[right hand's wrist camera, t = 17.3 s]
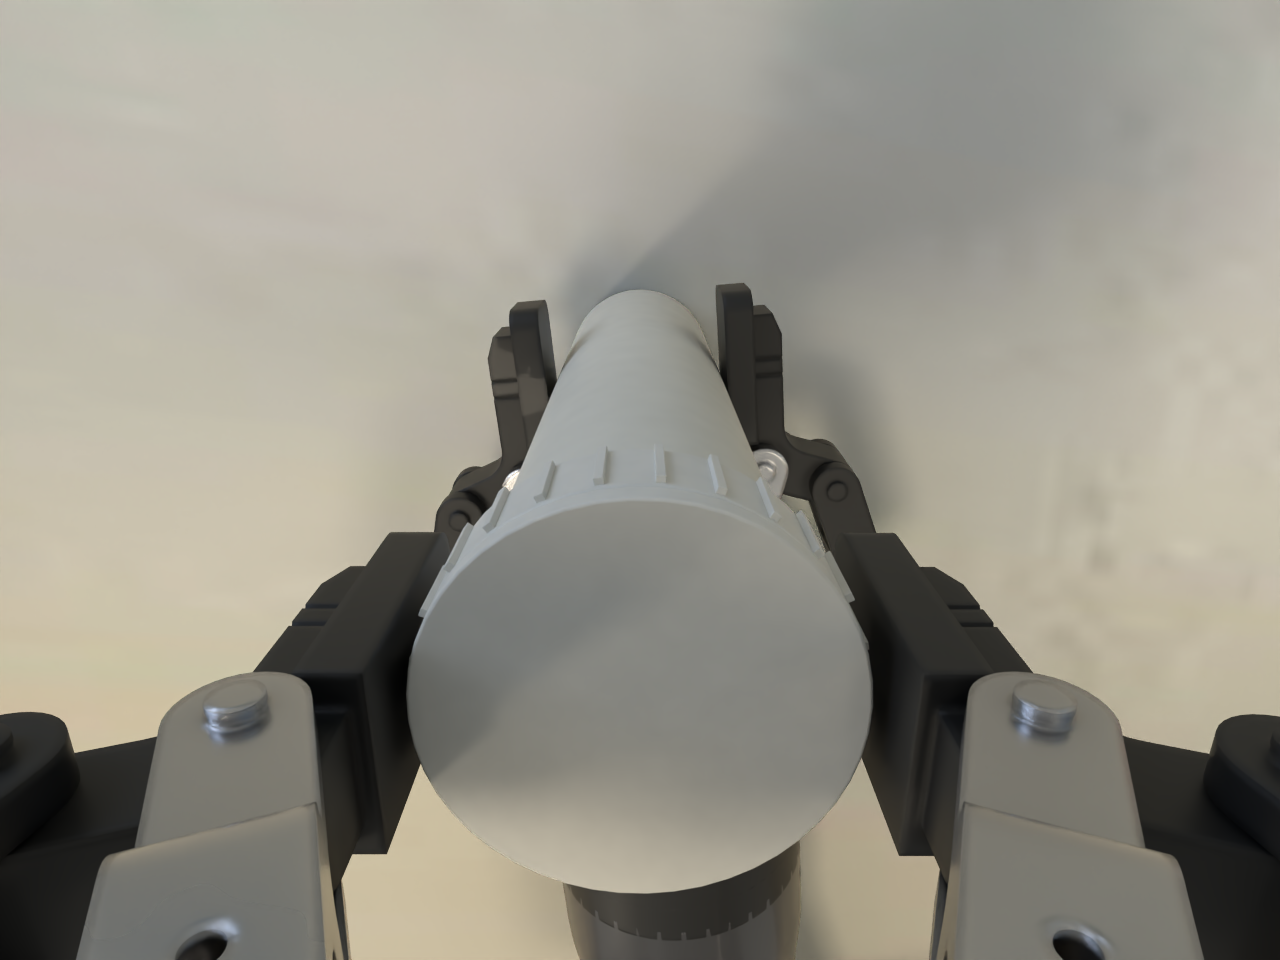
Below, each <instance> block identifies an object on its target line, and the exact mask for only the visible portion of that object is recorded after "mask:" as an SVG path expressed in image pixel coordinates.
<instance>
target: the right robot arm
mask: <svg viewBox="0 0 1280 960" xmlns="http://www.w3.org/2000/svg"><path fill="white" fill-rule="evenodd" d="M449 555H450V547H449V542H448V538H447V536H446V534H445V533H444V532H391V533H389V534H388V535H387V537H386V538H385V539H384V541H383V542H382V544H381V545H380V547H379V548H378V549H377V551H376V552H375V554H374V555H373V557H372V558H371V559H370V561H369V562H368V564H367V565H366V566H350V567H348V568H347V569H345V570H344V571H342V572H340V573H339V574H337V575H335V576H334V577H332V578H330V579H329V580H327V581H325V582H324V583H322V584H321V585H320V587H319V588H318V589H317V590H316V592H315V593H314V594H313V596H312V597H311V598H310V599H309V601H308V602H307V603H306V608H305V609H302V610H301V611H300V612H299V614H298V615H297V616H296V617H295V619H294V620H293V621H292V626H288V628H287V629H286V630H285V631H284V633H283V634H282V635H281V637H280V638H279V639H278V640H277V642H276V643H275V644H274V646H273V647H272V648H271V649H270V651H269V652H268V653H267V655H266V656H265V657H264V658H263V660H262V661H261V662H260V664H259V665H258V666H257V667H256V669H255V670H254V671H253V672H252V673H245V674H239V675H235V676H231V677H227V678H224V679H221V680H218V681H215V682H212V683H210V684H208V685H205V686H203V687H201V688H199V689H197V690H195V691H193V692H191V693H190V694H188V695H187V696H185V697H184V698H182V699H181V700H180V701H178V702H177V703H176V704H175V705H173V706H172V708H171V709H170V710H169V711H168V712H167V713H166V714H165V716H164V717H163V719H162V721H161V723H160V726H159V730H158V735H157V737H153V738H149V739H144V740H140V741H135V742H129V743H124V744H119V745H114V746H109V747H104V748H98V749H93V750H88V751H83V752H78V753H74V750H73V747H72V744H71V740H70V737H69V733H68V730H67V727H66V725H65V723H64V722H63V721H62V720H61V719H60V718H58V717H55V716H53V715H50V714H45V713H38V712H19V713H11V714H4V715H0V960H351V953H350V943H349V934H348V924H347V914H346V904H345V896H344V890H343V884H342V877H343V875H344V872H345V870H346V868H347V865H348V863H349V860H350V858H351V856H352V854H387V852H388V850H389V847H390V844H391V841H392V839H393V836H394V833H395V831H396V828H397V825H398V823H399V820H400V817H401V815H402V812H403V809H404V807H405V804H406V801H407V799H408V796H409V793H410V791H411V788H412V785H413V783H414V780H415V777H416V774H417V772H418V769H419V766H420V764H421V762H420V760H419V757H418V755H417V752H416V750H415V747H414V743H413V739H412V735H411V731H410V726H409V722H408V713H407V700H406V688H407V675H408V666H409V657H410V655H411V653H412V649H413V645H414V641H415V639H416V636H417V634H418V631H419V629H420V627H421V624H422V622H423V619H424V618H423V617H420V616H419V612H420V609H421V607H422V605H423V603H424V601H425V599H426V597H427V595H428V593H429V592H430V590H431V588H432V586H433V584H434V582H435V580H436V578H437V576H438V574H439V572H440V570H441V568H442V566H443V565H445V563H446V561H447V559H448V557H449ZM834 559H835V561H836V563H837V565H838V567H839V569H840V571H841V573H842V575H843V577H844V579H845V581H846V583H847V585H848V587H849V589H850V591H851V592H852V595H853V597H854V599H855V600H854V601H852V602H850V603H849V604H850V606H851V608H852V610H853V612H854V614H855V616H856V618H857V620H858V622H859V624H860V626H861V628H862V630H863V632H864V635H865V637H866V639H867V641H868V644H869V650H868V653H869V659H870V665H871V671H872V677H873V710H872V717H871V723H870V730H869V734H868V738H867V741H866V744H865V748H864V751H863V754H862V760H863V762H864V765H865V767H866V770H867V773H868V775H869V778H870V781H871V783H872V786H873V788H874V791H875V794H876V796H877V799H878V802H879V804H880V807H881V809H882V812H883V815H884V817H885V820H886V823H887V825H888V828H889V830H890V833H891V836H892V838H893V841H894V844H895V846H896V849H897V851H898V854H899V856H935V859H936V861H937V863H938V866H939V868H940V872H939V878H938V884H937V890H936V896H935V904H934V914H933V924H932V934H931V943H930V953H929V960H1280V717H1278V716H1270V715H1256V714H1250V715H1239V716H1235V717H1231V718H1229V719H1226V720H1224V721H1223V722H1222V723H1221V724H1220V725H1219V726H1218V728H1217V730H1216V733H1215V737H1214V740H1213V744H1212V747H1211V750H1210V754H1207V753H1201V752H1196V751H1191V750H1186V749H1181V748H1176V747H1170V746H1165V745H1160V744H1155V743H1150V742H1145V741H1140V740H1136V739H1132V738H1128V737H1125V736H1123V735H1122V730H1121V726H1120V723H1119V721H1118V719H1117V717H1116V716H1115V714H1114V713H1113V712H1112V711H1111V710H1110V709H1109V708H1108V706H1107V705H1105V704H1104V703H1103V702H1102V701H1100V700H1099V699H1098V698H1096V697H1095V696H1093V695H1092V694H1090V693H1089V692H1087V691H1085V690H1083V689H1081V688H1079V687H1077V686H1075V685H1072V684H1070V683H1068V682H1065V681H1062V680H1059V679H1056V678H1053V677H1049V676H1045V675H1041V674H1035V673H1033V672H1032V671H1031V670H1030V668H1029V667H1028V666H1027V665H1026V663H1025V662H1024V661H1023V659H1022V658H1021V657H1020V656H1019V654H1018V653H1017V652H1016V651H1015V649H1014V648H1013V647H1012V646H1011V644H1010V643H1009V642H1008V640H1007V639H1006V638H1005V637H1004V635H1003V634H1002V633H1001V632H1000V630H999V629H998V628H997V627H994V626H993V621H992V620H991V619H990V618H989V616H988V615H987V614H986V613H985V611H984V610H983V609H980V605H979V604H978V602H977V601H976V600H975V599H974V597H973V596H972V595H971V594H970V592H969V591H968V590H967V589H966V587H965V586H964V585H963V584H961V583H960V582H958V581H957V580H955V579H953V578H952V577H950V576H948V575H947V574H945V573H943V572H942V571H940V570H938V569H937V568H935V567H919V566H918V564H917V563H916V562H915V560H914V559H913V557H912V556H911V555H910V553H909V552H908V550H907V549H906V548H905V546H904V545H903V543H902V542H901V540H900V539H899V538H898V536H897V535H896V534H894V533H840V534H839V536H838V538H837V540H836V544H835V550H834Z"/></svg>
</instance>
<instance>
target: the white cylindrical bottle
mask: <svg viewBox="0 0 1280 960" xmlns="http://www.w3.org/2000/svg"><path fill="white" fill-rule="evenodd" d="M654 444H663V445H664V450H666V451H672V452H679V453H685V454H690V455H694V456H697V457H701V458H704V459H708V458H709V455H710V454H712V455H715V456H718V457H719V460H720V464H722V465H724V466H727V467H729V468H731V469H734V470H736V471H738V472H741V473H742V474H744V475H746V476H747V477H749V478H751V479H753V480H754V481H757V480H758V479H759V477H762V475H761V472H760V470H759V467H758V465H757V462H756V460H755V458H754V455H753V453H752V450H751V448H750V446H749V443H748V441H747V438H746V436H745V433H744V431H743V429H742V426H741V424H740V421H739V419H738V417H737V414H736V412H735V409H734V407H733V404H732V402H731V400H730V397H729V395H728V392H727V390H726V387H725V385H724V383H723V380H722V378H721V375H720V373H719V371H718V368H717V366H716V363H715V361H714V358H713V356H712V354H711V351H710V349H709V346H708V344H707V341H706V339H705V337H704V334H703V332H702V330H701V328H700V326H699V323H698V322H697V320H696V319H695V317H694V316H693V315H692V314H691V312H690V311H689V310H688V309H687V308H686V307H685V306H683V305H682V304H681V303H680V302H678V301H677V300H675V299H674V298H672V297H670V296H668V295H665V294H662V293H659V292H656V291H651V290H629V291H624V292H620V293H618V294H615V295H612V296H610V297H609V298H607V299H605V300H603V301H602V302H600V303H599V304H598V305H597V306H595V307H594V308H593V309H592V310H591V311H590V312H589V314H588V315H587V316H586V317H585V319H584V320H583V322H582V324H581V325H580V328H579V330H578V332H577V334H576V337H575V339H574V342H573V344H572V346H571V349H570V351H569V354H568V356H567V359H566V361H565V363H564V366H563V368H562V371H561V373H560V375H559V378H558V380H557V383H556V385H555V387H554V390H553V392H552V395H551V397H550V400H549V402H548V404H547V407H546V409H545V412H544V414H543V416H542V419H541V421H540V424H539V426H538V428H537V431H536V433H535V436H534V438H533V441H532V443H531V445H530V448H529V450H528V453H527V455H526V457H525V460H524V462H523V465H522V467H521V469H520V472H519V474H518V477H517V479H516V481H515V484H514V486H513V488H515V487H516V486H518V485H519V484H520V483H522V482H523V481H525V480H526V479H528V478H530V477H532V476H534V475H536V474H538V473H540V472H542V469H543V467H544V464H545V463H546V462H549V461H551V460H553V462H554V464H555V465H558V464H560V463H563V462H566V461H569V460H571V459H574V458H577V457H582V456H586V455H591V454H595V453H597V449H598V447H600V446H607V449H608V451H615V450H625V449H654ZM762 478H763V477H762Z"/></svg>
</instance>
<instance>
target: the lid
mask: <svg viewBox="0 0 1280 960" xmlns="http://www.w3.org/2000/svg"><path fill="white" fill-rule="evenodd" d="M854 600H855V599H854V597H853V595H852V592H851V591H850V589H849V587H848V585H847V583H846V581H845V579H844V577H843V575H842V573H841V571H840V569H839V567H838V565H837V563H836V561H835V559H834V557H833V555H832V554H831V552H830V551H828V552H826V553H824V551H823V549H822V547H821V545H820V542H819V540H818V538H817V536H816V534H815V532H814V530H813V528H812V526H811V524H810V522H809V520H808V518H807V516H806V515H805V514H804V513H803V511H802V510H800V511H799V512H798V513H796V514H795V513H794V512H793V511H792V510H791V509H790V508H789V507H788V506H787V504H786V503H784V502H783V501H782V500H781V499H779V498H778V497H777V496H776V495H774V494H773V493H772V491H771V489H770V487H769V484H768V482H767V481H766V480H765V479H763V478H762V477H759V479H758V480H757V481H754V480H753V479H751V478H749V477H747V476H746V475H744V474H742V473H741V472H738V471H736V470H734V469H731V468H729V467H727V466H724V465H722V464H720V460H719V457H718V456H715V455H712V454H710V455H709V458H708V459H704V458H701V457H697V456H694V455H690V454H685V453H679V452H672V451H666V450H664V445H663V444H654V449H625V450H615V451H608V449H607V446H600V447H598V449H597V453H595V454H591V455H586V456H582V457H577V458H574V459H571V460H569V461H566V462H563V463H560V464H558V465H555V464H554V462H553V460H551V461H549V462H546V463H545V464H544V467H543V469H542V472H540V473H538V474H536V475H534V476H532V477H530V478H528V479H526V480H525V481H523V482H522V483H520V484H519V485H518V486H516V487H515V488H513V489H512V490H510V491H509V490H508V489H507V488H506V487H503V488H502V489H501V490H500V491H499V492H498V494H497V496H496V498H495V500H494V503H493V505H492V506H491V507H490V508H489V509H488V510H487V511H486V512H485V513H484V514H483V515H482V517H481V518H480V519H479V520H478V521H477V523H476V524H475V525H474V526H473V525H471V524H470V523H467V524H466V525H465V527H464V528H463V530H462V532H461V534H460V536H459V538H458V540H457V542H456V544H455V546H454V548H453V550H452V552H451V554H450V555H449V557H448V559H447V561H446V563H445V565H443V566H442V568H441V570H440V572H439V574H438V576H437V578H436V580H435V582H434V584H433V586H432V588H431V590H430V592H429V593H428V595H427V597H426V599H425V601H424V603H423V605H422V607H421V609H420V612H419V616H420V617H423V618H424V619H423V622H422V624H421V627H420V629H419V631H418V634H417V636H416V639H415V641H414V645H413V649H412V653H411V655H410V657H409V666H408V675H407V688H406V700H407V713H408V722H409V726H410V731H411V735H412V739H413V743H414V747H415V750H416V752H417V755H418V757H419V760H420V762H421V765H422V767H423V770H424V772H425V774H426V775H427V777H428V779H429V781H430V782H431V784H432V786H433V788H434V789H435V791H436V793H437V794H438V796H439V797H440V798H441V799H442V801H443V802H444V803H445V805H446V806H447V807H448V809H449V810H450V811H451V812H452V814H453V815H454V816H455V817H456V818H457V819H458V820H459V821H460V822H461V823H462V824H463V825H464V826H465V827H466V828H467V829H468V830H469V831H470V832H471V833H472V834H474V835H475V836H476V837H478V838H479V839H480V840H481V841H483V842H484V843H485V844H486V845H488V846H489V847H490V848H492V849H493V850H495V851H496V852H498V853H500V854H501V855H503V856H505V857H506V858H508V859H509V860H511V861H513V862H514V863H516V864H518V865H521V866H523V867H525V868H527V869H529V870H531V871H533V872H535V873H538V874H540V875H543V876H546V877H549V878H552V879H554V880H557V881H560V882H563V883H567V884H571V885H575V886H580V887H584V888H588V889H593V890H601V891H609V892H617V893H660V892H673V891H679V890H685V889H690V888H696V887H702V886H705V885H709V884H712V883H716V882H719V881H722V880H726V879H729V878H731V877H734V876H736V875H739V874H741V873H744V872H746V871H749V870H751V869H753V868H755V867H757V866H759V865H761V864H763V863H765V862H766V861H768V860H770V859H772V858H774V857H776V856H777V855H779V854H780V853H782V852H783V851H785V850H786V849H787V848H789V847H790V846H792V845H793V844H795V843H796V842H797V841H799V840H800V839H801V838H802V837H803V836H804V835H806V834H807V833H808V832H809V831H810V830H811V829H812V828H813V827H815V826H816V825H817V824H818V823H819V822H820V821H821V820H822V818H823V817H824V816H825V815H826V814H827V813H828V811H829V810H830V809H831V808H832V807H833V806H834V805H835V803H836V802H837V801H838V799H839V798H840V796H841V794H842V793H843V791H844V790H845V788H846V787H847V785H848V784H849V782H850V781H851V779H852V776H853V774H854V772H855V770H856V768H857V766H858V764H859V762H860V760H861V757H862V754H863V751H864V748H865V744H866V741H867V738H868V734H869V730H870V723H871V717H872V710H873V677H872V671H871V665H870V659H869V653H868V650H869V644H868V641H867V639H866V637H865V635H864V632H863V630H862V628H861V626H860V624H859V622H858V620H857V618H856V616H855V614H854V612H853V610H852V608H851V606H850V604H849V603H850V602H852V601H854Z"/></svg>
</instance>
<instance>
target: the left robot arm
mask: <svg viewBox="0 0 1280 960" xmlns="http://www.w3.org/2000/svg"><path fill="white" fill-rule="evenodd" d="M716 310H717V329H718V347H719V366H720V375H721V378H722V380H723V383H724V385H725V387H726V390H727V392H728V395H729V397H730V400H731V402H732V404H733V407H734V409H735V412H736V414H737V417H738V419H739V421H740V424H741V426H742V429H743V431H744V433H745V436H746V438H747V441H748V443H749V446H750V448H751V450H752V453H753V455H754V458H755V460H756V462H757V465H758V467H759V470H760V472H761V475H762V477H763V479H765V480H766V481H767V482H768V484H769V487H770V489H771V491H772V493H773V494H774V495H776V496H777V497H778V498H779V499H781V497H782V494H784V495H788V496H792V497H796V498H800V499H804V500H808V501H809V504H810V507H811V510H812V513H813V516H814V519H815V521H816V524H817V527H818V530H819V533H820V536H821V539H822V542H823V544H824V547H825V550H826V552H828V551H830V552H831V554H832V555H833V557H834V550H835V544H836V540H837V538H838V536H839V534H840V533H876V531H875V528H874V525H873V522H872V519H871V516H870V512H869V509H868V506H867V503H866V500H865V497H864V494H863V491H862V488H861V484H860V482H859V479H858V478H857V476H856V475H855V473H854V472H853V471H852V469H851V468H850V466H849V465H848V464H847V462H846V461H845V459H844V458H843V457H842V455H841V454H840V453H839V451H838V450H837V448H836V447H835V446H834V445H833V444H832V443H831V442H829V441H827V440H824V439H814V440H806V439H803V438H799V437H795V436H792V435H790V434H788V433H787V432H786V431H785V430H784V404H783V375H782V372H783V368H782V334H781V331H780V329H779V327H778V325H777V322H776V320H775V318H774V316H773V313H772V312H771V311H770V310H769V309H768V308H767V307H766V306H765V305H756V306H753V301H752V294H751V290H750V289H749V288H748V287H747V286H746V285H745V284H744V283H736V284H725V285H716ZM509 325H510V327H502V328H501V329H500V330H499V331H498V332H497V333H496V335H495V336H494V337H493V339H492V343H491V347H490V351H489V356H488V364H489V370H490V376H491V381H492V389H493V396H494V402H495V409H496V415H497V422H498V428H499V435H500V441H501V448H502V457H501V458H499V459H498V460H496V461H494V462H492V463H490V464H488V465H486V466H483V467H477V466H476V467H469V468H467V469H465V470H463V471H462V472H461V473H460V474H459V476H458V477H457V479H456V481H455V482H454V485H453V488H452V491H451V492H450V494H449V496H447V497H446V498H445V499H444V501H443V502H442V504H441V505H440V507H439V509H438V511H437V514H436V521H435V529H434V532H444V533H445V534H446V536H447V538H448V542H449V547H450V554H451V552H452V550H453V548H454V546H455V544H456V542H457V540H458V538H459V536H460V534H461V532H462V530H463V528H464V527H465V525H466V524H467V523H470V524H471V525H473V526H474V525H475V524H476V523H477V521H478V520H479V519H480V518H481V517H482V515H483V514H484V513H485V512H486V511H487V510H488V509H489V508H490V507H491V506H492V505H493V503H494V500H495V498H496V496H497V494H498V492H499V491H500V490H501V489H502V488H503V487H506V488H507V489H508V490H509V491H510V490H512V489H513V486H514V484H515V481H516V479H517V477H518V474H519V472H520V469H521V467H522V465H523V462H524V460H525V457H526V455H527V453H528V450H529V448H530V445H531V443H532V441H533V438H534V436H535V433H536V431H537V428H538V426H539V424H540V421H541V419H542V416H543V414H544V412H545V409H546V407H547V404H548V402H549V400H550V397H551V395H552V392H553V390H554V387H555V385H556V383H557V377H556V369H555V361H554V353H553V345H552V337H551V329H550V321H549V314H548V308H547V304H546V301H545V300H538V301H527V302H518V303H517V304H516V305H515V306H514V307H513V308H512V309H511V310H510V314H509ZM563 886H564V893H565V899H566V905H567V912H568V918H569V923H570V927H571V932H572V936H573V940H574V943H575V947H576V950H577V953H578V955H579V958H580V960H795V950H796V945H797V939H798V932H799V924H800V915H801V879H800V840H799V841H797V842H796V843H795V844H793V845H792V846H790V847H789V848H787V849H786V850H785V851H783V852H782V853H780V854H779V855H777V856H776V857H774V858H772V859H770V860H768V861H766V862H765V863H763V864H761V865H759V866H757V867H755V868H753V869H751V870H749V871H746V872H744V873H741V874H739V875H736V876H734V877H731V878H729V879H726V880H722V881H719V882H716V883H712V884H709V885H705V886H702V887H696V888H690V889H685V890H679V891H673V892H660V893H617V892H609V891H601V890H593V889H588V888H584V887H580V886H575V885H571V884H567V883H563Z"/></svg>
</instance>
